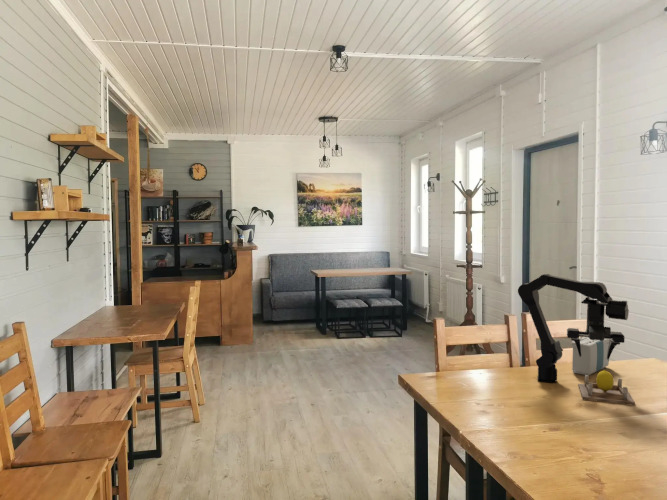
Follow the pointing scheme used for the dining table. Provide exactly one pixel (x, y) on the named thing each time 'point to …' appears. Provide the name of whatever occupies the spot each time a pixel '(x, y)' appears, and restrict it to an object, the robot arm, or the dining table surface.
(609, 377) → the lemon
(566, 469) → the dining table surface
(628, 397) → the cradle tray
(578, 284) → the robot arm
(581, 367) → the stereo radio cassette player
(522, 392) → the dining table surface
